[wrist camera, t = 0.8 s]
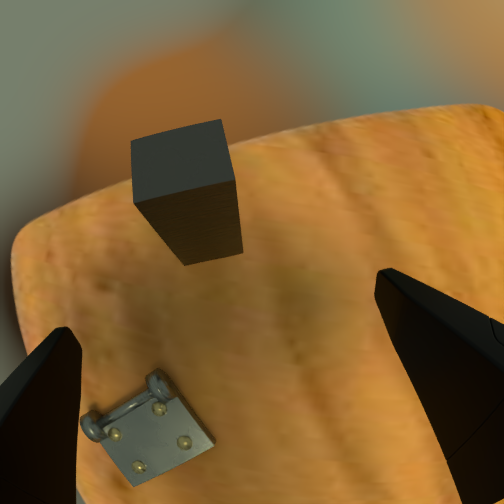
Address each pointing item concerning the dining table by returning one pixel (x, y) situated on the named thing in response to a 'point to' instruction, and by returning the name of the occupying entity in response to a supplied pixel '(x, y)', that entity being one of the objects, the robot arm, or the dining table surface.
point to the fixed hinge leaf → (149, 431)
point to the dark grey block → (188, 191)
